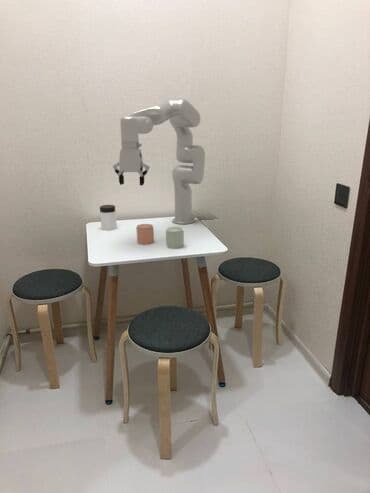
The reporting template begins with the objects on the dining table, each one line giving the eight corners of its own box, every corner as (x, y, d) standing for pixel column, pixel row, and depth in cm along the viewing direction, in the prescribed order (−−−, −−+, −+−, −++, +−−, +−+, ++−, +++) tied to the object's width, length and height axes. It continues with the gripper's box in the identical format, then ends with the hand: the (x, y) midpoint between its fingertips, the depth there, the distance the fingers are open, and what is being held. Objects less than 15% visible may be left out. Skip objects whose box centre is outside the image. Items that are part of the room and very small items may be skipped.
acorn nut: (180, 242, 188) (180, 226, 185) (185, 247, 181) (184, 230, 178) (165, 244, 186) (164, 227, 183) (169, 249, 179) (168, 232, 176)
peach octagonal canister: (151, 238, 194) (150, 223, 191) (155, 243, 187) (154, 227, 184) (136, 240, 192) (135, 224, 189) (139, 245, 185) (138, 228, 182)
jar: (111, 224, 219) (109, 203, 216) (120, 227, 214) (118, 206, 210) (97, 228, 213) (95, 206, 209) (106, 231, 208) (105, 208, 204)
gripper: (151, 145, 175) (152, 184, 181) (115, 145, 180) (117, 182, 185) (145, 146, 169) (146, 186, 174) (108, 146, 173) (110, 185, 178)
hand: (131, 184), depth 179 cm, fingers open, 9 cm apart
